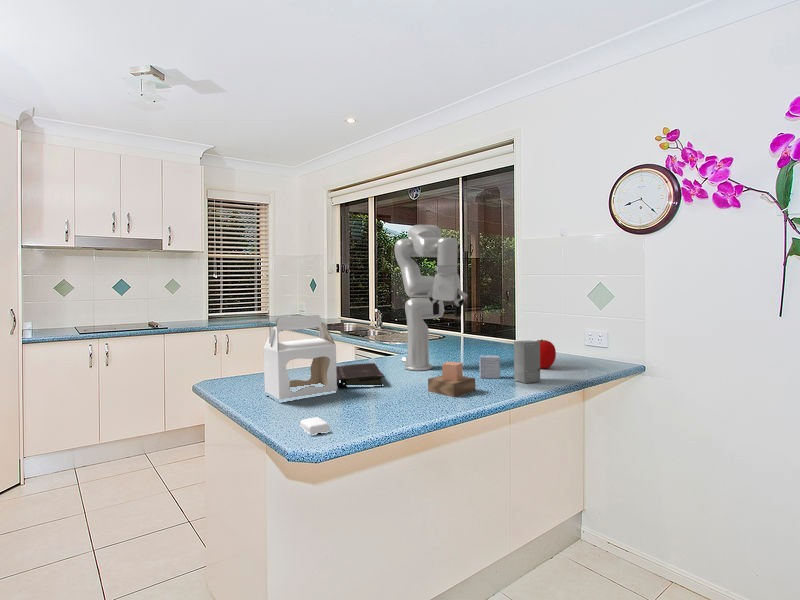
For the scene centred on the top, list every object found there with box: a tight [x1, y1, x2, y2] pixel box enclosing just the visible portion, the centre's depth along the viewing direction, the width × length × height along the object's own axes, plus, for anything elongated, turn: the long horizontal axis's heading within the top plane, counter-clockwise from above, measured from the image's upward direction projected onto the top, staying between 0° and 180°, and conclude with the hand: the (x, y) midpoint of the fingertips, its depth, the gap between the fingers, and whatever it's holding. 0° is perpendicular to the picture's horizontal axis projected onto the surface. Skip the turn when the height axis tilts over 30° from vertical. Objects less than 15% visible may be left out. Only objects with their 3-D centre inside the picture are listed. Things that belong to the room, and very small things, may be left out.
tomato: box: [536, 338, 557, 369], centre depth 212 cm, size 11×11×13 cm
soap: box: [299, 416, 332, 434], centre depth 132 cm, size 9×7×3 cm
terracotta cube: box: [441, 361, 464, 381], centre depth 173 cm, size 6×6×6 cm
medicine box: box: [479, 355, 501, 379], centre depth 195 cm, size 8×4×9 cm, turn 84°
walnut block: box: [427, 375, 476, 398], centre depth 173 cm, size 12×12×5 cm
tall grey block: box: [513, 340, 541, 384], centre depth 187 cm, size 8×7×16 cm
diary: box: [336, 362, 385, 387], centre depth 192 cm, size 19×25×5 cm
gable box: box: [263, 314, 338, 399], centre depth 171 cm, size 22×13×28 cm, turn 126°
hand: (446, 315), depth 184 cm, fingers open, 9 cm apart
